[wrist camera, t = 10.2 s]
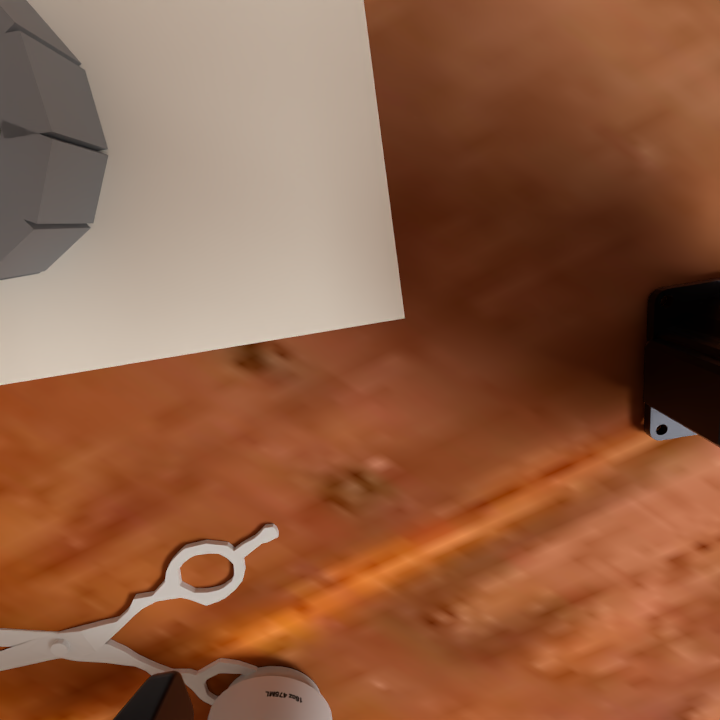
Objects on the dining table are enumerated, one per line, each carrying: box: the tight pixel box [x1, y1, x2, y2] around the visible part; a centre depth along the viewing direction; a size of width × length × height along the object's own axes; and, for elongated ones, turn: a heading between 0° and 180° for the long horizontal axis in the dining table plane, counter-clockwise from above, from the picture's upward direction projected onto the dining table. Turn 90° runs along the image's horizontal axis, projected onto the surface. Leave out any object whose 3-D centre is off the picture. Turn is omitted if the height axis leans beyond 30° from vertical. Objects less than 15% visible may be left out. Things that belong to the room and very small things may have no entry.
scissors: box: [0, 524, 279, 705], centre depth 22 cm, size 11×1×20 cm
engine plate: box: [0, 0, 405, 385], centre depth 13 cm, size 22×16×4 cm
